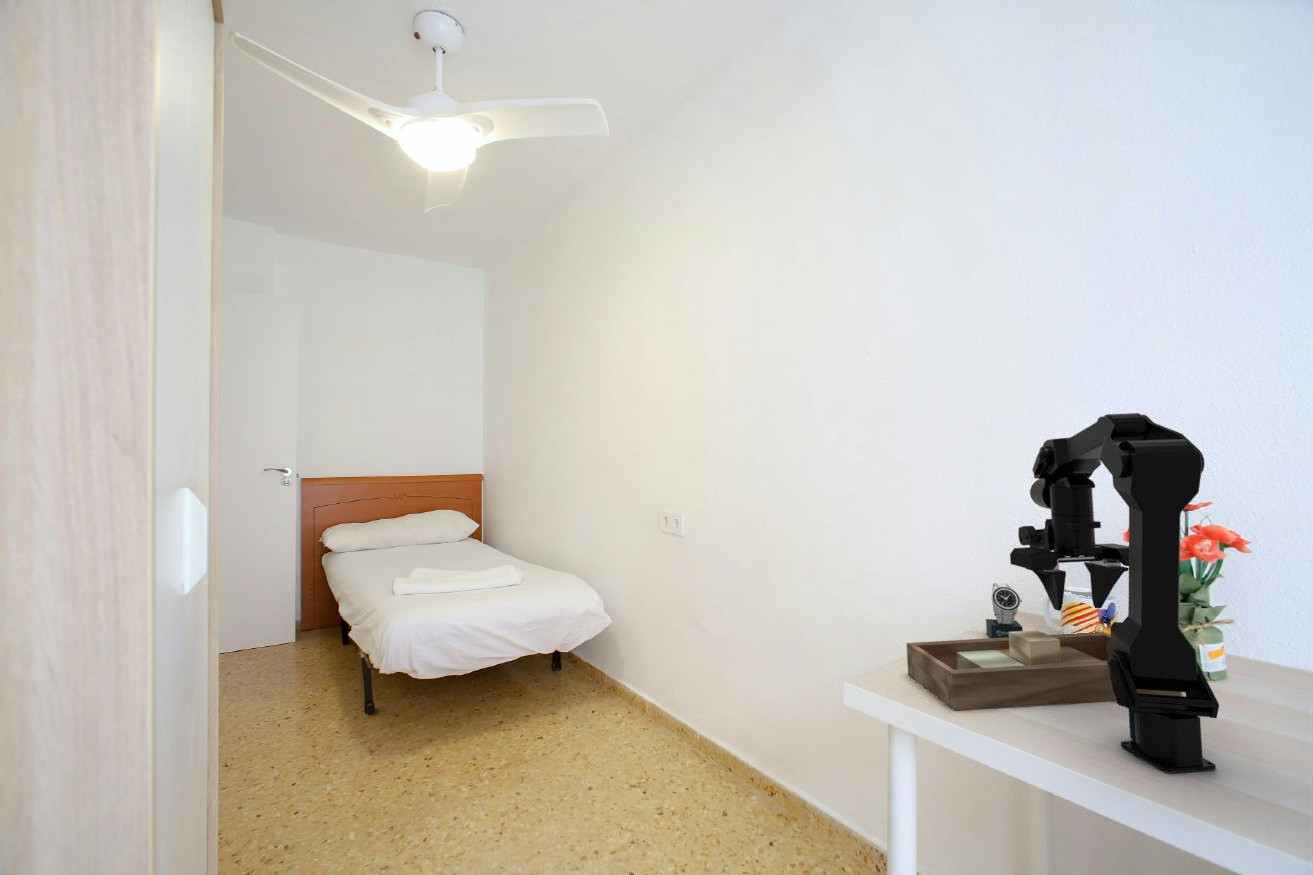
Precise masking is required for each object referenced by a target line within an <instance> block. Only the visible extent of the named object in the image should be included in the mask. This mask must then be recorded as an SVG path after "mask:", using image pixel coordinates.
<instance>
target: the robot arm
mask: <svg viewBox="0 0 1313 875" xmlns="http://www.w3.org/2000/svg"><path fill="white" fill-rule="evenodd" d="M1101 465H1104V467H1105V469H1107V471H1108V472H1109V474H1111V475H1112V485H1113V486H1112V487H1113V488H1114V490H1115V491H1116V492H1117V494H1118V495H1119V496H1120V497H1121V499H1122V500H1123V501H1124V503H1125V504H1126V505H1127V506H1128V545H1125V544H1118V543H1113V542H1112V543H1096V532H1095V531H1096V530H1095V529H1101V528H1102V524H1101V523H1102V522H1101V521H1099V520H1098V521H1097V520H1095V515H1094V514H1095V513H1094V499H1093V498H1094V495H1093V489H1095V488H1096V484H1095V482H1094V481H1093V480H1092V479H1090V478H1091V477H1092V475H1093V473H1094V472H1095V471H1096V470H1097V469H1098V468H1099V467H1100V466H1101ZM1204 469H1205V458H1204V455H1203V453H1202V451H1201V450H1200V449H1199V448H1198V447H1197V446H1196V445H1195V444H1194V443H1193V442H1192V441H1190V440H1189V438H1187V437H1186V436H1185V435H1184V434H1183V433H1181V432H1179V431H1176V430H1173V429H1171V428H1169V427H1167V426H1163V425H1161V424H1158V423H1156V422H1154V421H1153V420H1152V419H1151V418H1150V417H1149V416H1148V415H1146V414H1141V413H1138V412H1135V413H1133V412H1131V413H1130V412H1129V413H1113V414H1111V413H1110V414H1109V413H1108V414H1105V415H1103V416H1099V417H1098V418H1097V420H1096V422H1094V423H1092V424H1091V425H1089V426H1088V427H1086V428H1084V429H1082V430H1081V431H1079V432H1077V433H1076V434H1073V435H1072V436H1070V437H1061V438H1052V439H1046V440H1045V441H1044V442H1043V444H1042V446H1041V447H1039V450H1038V454H1037V455H1036V457H1035V461H1034V464H1033V467H1032V473H1033V478H1034V479H1036V480H1035V481H1034V482H1033V483H1032V485H1031V487H1030V489H1029V494H1030V498H1031V500H1032V501H1033V503H1034V504H1036V505H1037V506H1038V507H1040V508H1043V509H1048V510H1050V513H1051V518H1047V519H1045V522H1044V527H1043V528H1039V529H1037V528H1035V526H1034V525H1022V526H1020V527H1018V536H1017V537H1018V541H1019V543H1020V545H1021V546H1025V547H1014V548H1013V549H1012V550H1011V552H1010V553H1009V557H1010V558H1009V561H1010V565H1013V566H1015V567H1016V566H1017V567H1019V568H1020V567H1021V568H1024V569H1025V570H1027V571H1028V570H1029V571H1032V572H1033V573H1034V574H1035V575H1036V576H1037V577H1038V579H1039V581H1040V582H1041V584H1042V585H1043V588H1044V590H1045V592H1046V594H1047V596H1048V599H1049V601H1050V603H1051V605H1052V608H1053V609H1054V610H1055V611H1058V612H1059V611H1061V612H1062V604H1063V599H1064V595H1065V594H1064V588H1065V584H1066V578H1067V577H1066V576H1067V571H1066V570H1061V569H1060V563H1061V564H1063V563H1083V565H1084V566H1085V567H1086V569H1087V571H1088V573H1089V574H1090V578H1089V579H1090V589H1091V591H1092V601H1093V605H1094V607H1095V608H1097V610H1099V609H1102V607H1103V606H1104V604H1105V603H1106V601H1107V599H1108V597H1109V596H1110V594H1111V591H1112V590H1113V588H1114V587H1115V585H1116V584H1117V583H1118V581H1119V580H1120V578H1121V577H1122V575H1123V574H1124V573H1125V572H1128V611H1127V613H1128V614H1127V617H1126V618H1125V619H1124V620H1123V621H1113V622H1112V624H1111V626H1110V629H1109V630H1110V631H1109V632H1110V633H1109V634H1110V635H1111V645H1110V648H1109V650H1110V651H1109V653H1108V658H1107V666H1108V669H1109V673H1110V678H1111V683H1112V687H1113V691H1114V693H1115V697H1116V701H1115V702H1116V704H1117V705H1118V706H1121V707H1124V708H1126V709H1127V708H1128V721H1129V722H1128V723H1129V737H1130V739H1131V740H1126V741H1125V740H1124V741H1120V746H1121V747H1122V748H1124V749H1125V750H1127V751H1128V752H1130V753H1131V754H1134V755H1135V756H1137V757H1139V758H1141V759H1142V760H1144V761H1146V762H1147V763H1149V764H1151V765H1153V766H1155V767H1156V768H1157V769H1159V770H1161V771H1162V772H1165V773H1180V772H1181V773H1182V772H1183V773H1184V772H1196V771H1210V770H1211V771H1212V770H1217V769H1216V767H1217V766H1216V764H1215V763H1214V762H1212V761H1210V760H1208V759H1206V758H1204V757H1203V744H1202V742H1203V741H1202V740H1203V739H1202V729H1201V728H1202V727H1201V717H1202V718H1205V717H1206V718H1210V719H1217V718H1218V713H1219V709H1220V704H1219V702H1218V699H1217V697H1216V696H1215V694H1214V691H1213V690H1212V688H1211V686H1210V685H1209V682H1208V680H1207V678H1206V677H1205V675H1204V673H1203V671H1202V669H1201V667H1200V665H1199V663H1198V660H1197V658H1198V657H1197V650H1196V649H1195V648H1194V646H1193V645H1192V643H1191V642H1190V641H1189V639H1188V638H1187V637H1186V636H1185V634H1184V632H1183V631H1182V630H1181V629H1180V624H1179V622H1180V621H1179V620H1180V616H1179V615H1180V566H1181V564H1180V562H1181V559H1180V556H1181V552H1180V551H1181V514H1182V512H1183V511H1184V510H1185V509H1186V508H1187V507H1188V505H1189V504H1190V503H1191V502H1192V501H1193V500H1194V498H1196V496H1197V495H1198V494H1199V492H1200V488H1201V486H1200V485H1201V478H1202V473H1203V472H1204ZM1026 546H1028V547H1026ZM1122 565H1123V566H1122ZM1136 689H1145V690H1159V691H1174V692H1181V693H1185V696H1184V695H1182V696H1171V695H1156V694H1142V693H1138V692H1137V690H1136Z"/></svg>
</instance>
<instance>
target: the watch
mask: <svg viewBox="0 0 1313 875" xmlns="http://www.w3.org/2000/svg"><path fill="white" fill-rule="evenodd" d="M991 602H992V612H993V615H994V617H995V619H991V618H986V619H985V624H986V635H987V636H988V638H1005V637H1009V632H1015V631H1024V630H1023V626H1022V625H1021V624H1020V623H1019V622H1018V620H1015V618H1016V617H1015V616H1017V614H1018V611H1019V607H1020V605H1021V603H1022V602H1023V598H1021V597H1020V595H1019V593H1018V592H1017V591H1015V589H1014V588H1013V587H1012V585H1010V584H1009V583H1007V582H1006V583H1003V582H993V584H992V594H991Z"/></svg>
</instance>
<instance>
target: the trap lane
mask: <svg viewBox="0 0 1313 875" xmlns="http://www.w3.org/2000/svg"><path fill="white" fill-rule="evenodd" d="M1048 635H1049V636H1052V637H1054V638H1056V639H1059V640H1060V655H1061V663H1058V664H1041V665H1026V664H1025V663H1023V662H1021V661H1019V660H1017V659H1015V658H1013V657H1011V656H1010V649H1009V637H1005V638H989V637H988V638H974V639H972V638H971V639H956V640H955V639H953V640H939V641H938V640H935V641H934V640H933V641H918V642H906V660H907V662H906V663H907V676H909V677H911V679H913V680H914V679H915V680H916V681H915V680H914V681H915V682H917V683H918V684H919V685H920V686H922V687H923V686H924V687H925V688H924V687H923V688H924V689H926V690H927V689H928V690H929V691H928V690H927V691H928V692H930V693H931V694H932V693H933V694H934V695H933V694H932V695H933V696H935V697H936V696H937V697H938V698H937V697H936V698H937V699H938V700H940V701H941V700H942V701H943V702H942V701H941V702H942V703H944V704H945V705H946V706H948V707H949V708H950V709H951V710H952V711H954V712H957V711H958V712H959V711H975V710H989V709H991V710H992V709H1005V708H1006V709H1007V708H1021V707H1037V706H1052V705H1056V706H1057V705H1068V704H1085V703H1101V702H1114V701H1115V702H1116V697H1115V693H1114V691H1113V687H1112V683H1111V678H1110V673H1109V669H1108V666H1107V658H1108V653H1109V651H1110V650H1109V648H1110V645H1111V633H1107V632H1104V631H1102V632H1101V631H1098V632H1095V633H1077V634H1063V633H1062V634H1060V633H1059V634H1048ZM1136 690H1137V692H1138V693H1142V694H1156V695H1171V696H1183V694H1182V693H1183V692H1174V691H1159V690H1145V689H1136Z"/></svg>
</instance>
